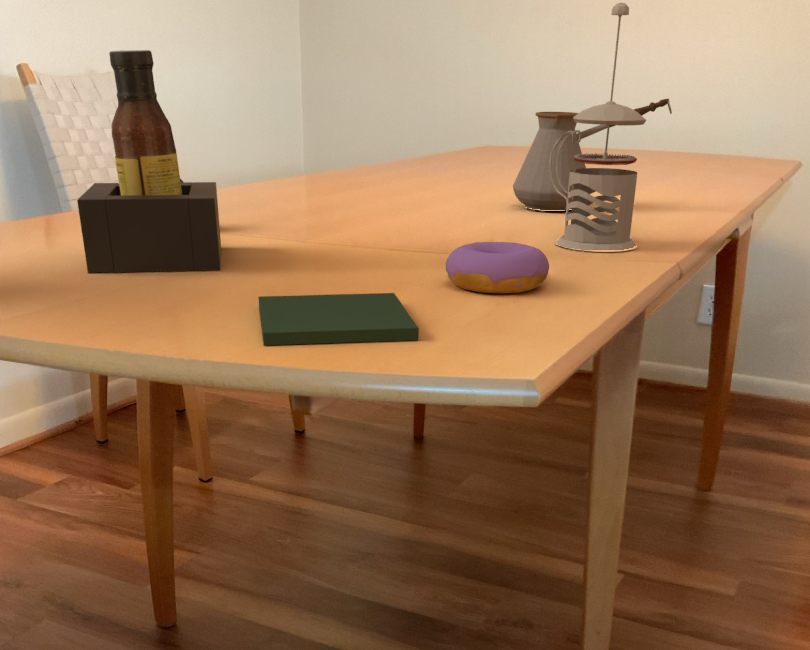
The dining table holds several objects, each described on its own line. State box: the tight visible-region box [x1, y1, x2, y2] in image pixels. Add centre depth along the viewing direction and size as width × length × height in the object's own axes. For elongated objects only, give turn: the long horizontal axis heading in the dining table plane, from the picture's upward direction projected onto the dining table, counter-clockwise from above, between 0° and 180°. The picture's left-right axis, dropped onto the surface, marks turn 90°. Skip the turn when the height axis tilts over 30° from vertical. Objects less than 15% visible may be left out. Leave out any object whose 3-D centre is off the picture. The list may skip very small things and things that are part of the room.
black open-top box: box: [76, 181, 222, 274], centre depth 97 cm, size 13×13×7 cm
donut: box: [445, 241, 550, 294], centre depth 88 cm, size 10×9×5 cm
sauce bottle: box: [108, 49, 182, 196], centre depth 94 cm, size 7×6×20 cm
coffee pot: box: [512, 97, 673, 210], centre depth 131 cm, size 21×12×15 cm, turn 80°
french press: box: [549, 2, 647, 250], centre depth 104 cm, size 10×12×25 cm
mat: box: [258, 292, 420, 346], centre depth 75 cm, size 12×12×1 cm
